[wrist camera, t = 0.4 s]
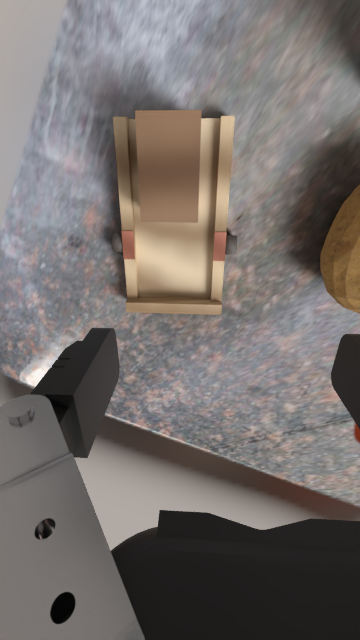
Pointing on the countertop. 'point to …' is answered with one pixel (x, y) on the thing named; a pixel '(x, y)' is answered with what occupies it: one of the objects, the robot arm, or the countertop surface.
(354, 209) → the potato
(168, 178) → the block
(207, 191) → the wooden tray
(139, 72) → the countertop surface
